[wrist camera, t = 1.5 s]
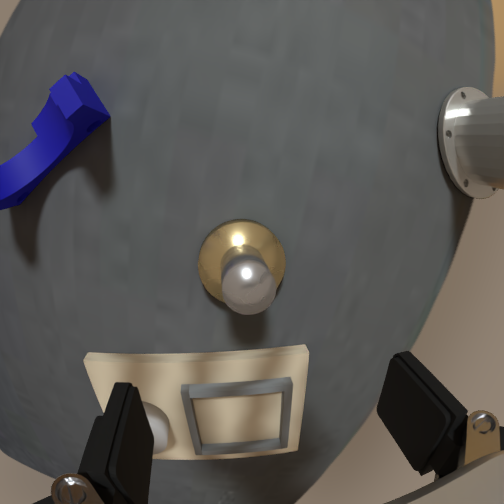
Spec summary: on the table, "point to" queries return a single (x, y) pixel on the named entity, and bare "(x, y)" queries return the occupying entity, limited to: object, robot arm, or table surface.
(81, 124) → the cable clip
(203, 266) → the gold and silver knob
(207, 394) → the carrier plate
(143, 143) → the table surface
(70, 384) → the table surface
